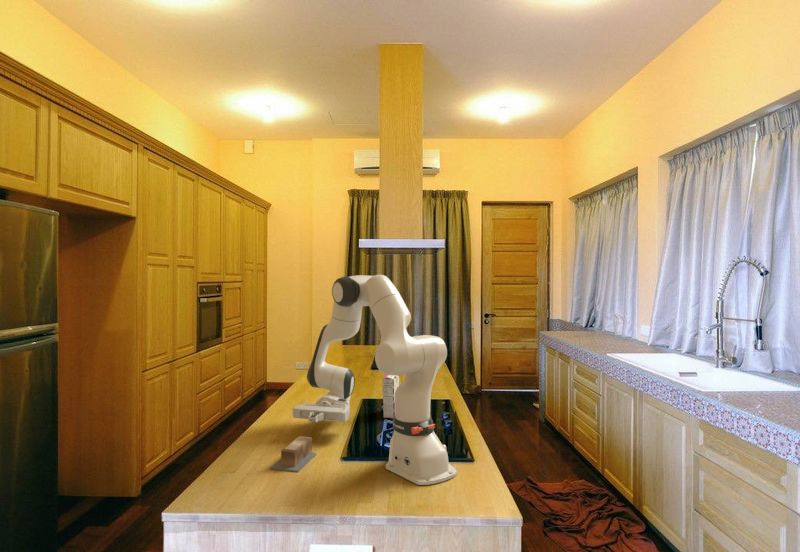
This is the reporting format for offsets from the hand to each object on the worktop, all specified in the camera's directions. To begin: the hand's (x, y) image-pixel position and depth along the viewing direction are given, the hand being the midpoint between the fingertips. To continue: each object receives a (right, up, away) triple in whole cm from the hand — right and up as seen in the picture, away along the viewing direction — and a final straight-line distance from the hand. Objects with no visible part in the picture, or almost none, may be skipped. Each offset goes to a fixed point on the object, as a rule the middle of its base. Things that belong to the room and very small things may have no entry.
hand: (312, 419), depth 152 cm
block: (-1, -6, -6) cm, 8 cm away
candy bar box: (+27, -9, +33) cm, 43 cm away
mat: (-3, -9, -13) cm, 16 cm away
